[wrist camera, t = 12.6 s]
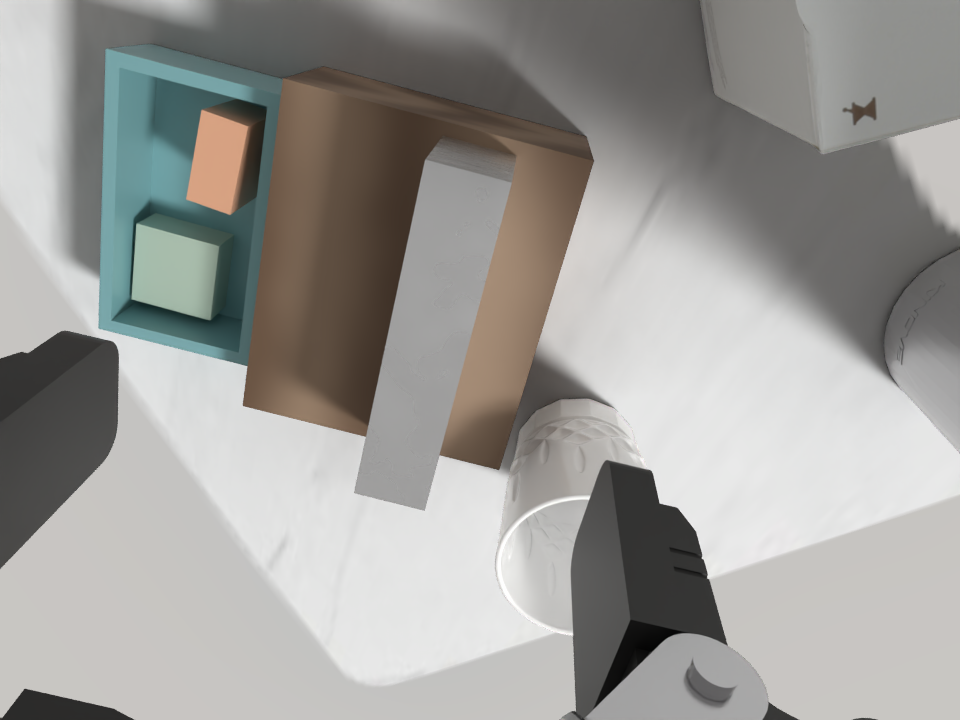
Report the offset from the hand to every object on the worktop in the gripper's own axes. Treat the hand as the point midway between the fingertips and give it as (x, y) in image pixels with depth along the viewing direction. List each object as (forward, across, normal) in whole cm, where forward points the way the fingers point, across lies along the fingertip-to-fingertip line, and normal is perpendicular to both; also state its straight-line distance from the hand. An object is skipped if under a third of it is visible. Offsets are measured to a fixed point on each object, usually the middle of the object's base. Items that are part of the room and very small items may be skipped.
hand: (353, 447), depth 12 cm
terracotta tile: (+24, +10, +2) cm, 26 cm away
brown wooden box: (+26, +2, +5) cm, 27 cm away
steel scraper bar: (+20, 0, +6) cm, 21 cm away
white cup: (+26, -9, +14) cm, 31 cm away
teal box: (+26, +12, +5) cm, 29 cm away
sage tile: (+24, +13, +8) cm, 28 cm away
